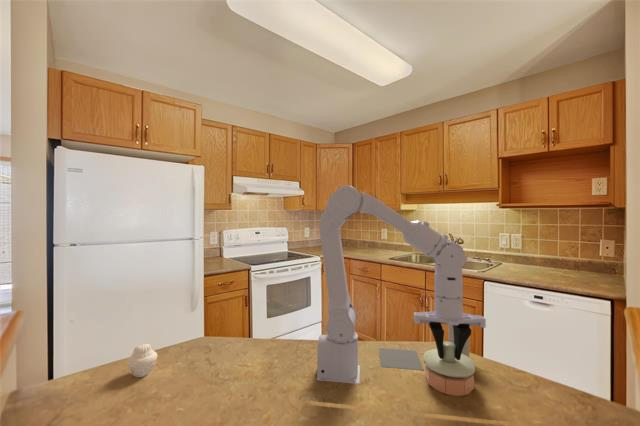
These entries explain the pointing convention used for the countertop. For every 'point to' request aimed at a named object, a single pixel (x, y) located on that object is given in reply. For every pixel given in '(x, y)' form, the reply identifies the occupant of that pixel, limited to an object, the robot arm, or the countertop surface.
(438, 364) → the lid
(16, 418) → the countertop surface
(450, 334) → the beverage can
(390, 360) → the mat
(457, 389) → the bowl
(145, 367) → the muffin
